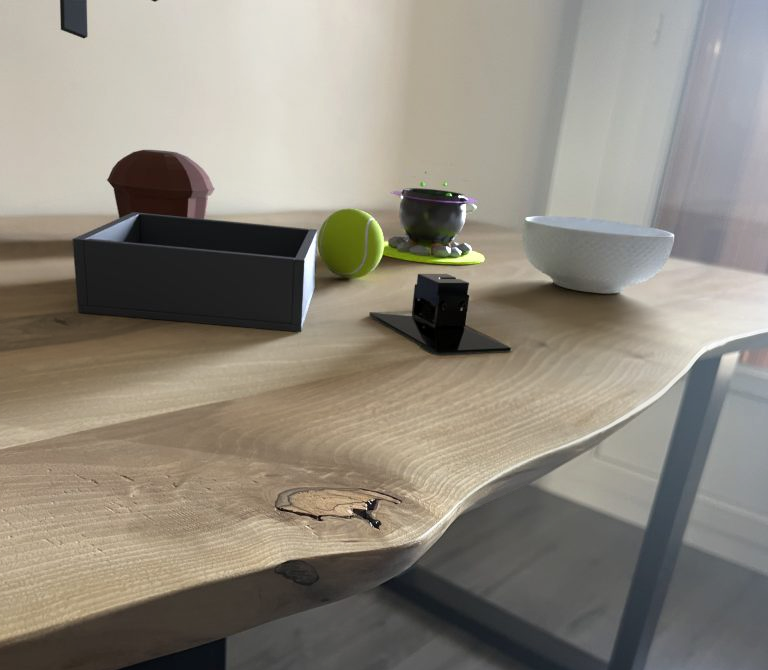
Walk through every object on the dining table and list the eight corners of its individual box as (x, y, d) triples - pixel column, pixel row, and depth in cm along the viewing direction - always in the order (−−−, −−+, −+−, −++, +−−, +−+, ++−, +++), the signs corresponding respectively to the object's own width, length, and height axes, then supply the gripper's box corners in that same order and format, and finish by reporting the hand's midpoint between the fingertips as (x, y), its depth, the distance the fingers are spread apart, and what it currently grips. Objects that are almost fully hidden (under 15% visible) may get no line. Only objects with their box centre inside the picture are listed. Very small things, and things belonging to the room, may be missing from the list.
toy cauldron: (499, 256, 111) (512, 169, 107) (460, 269, 99) (473, 171, 94) (399, 239, 117) (407, 156, 112) (351, 250, 104) (358, 157, 99)
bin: (77, 312, 64) (72, 238, 62) (135, 272, 80) (132, 211, 78) (301, 332, 65) (304, 260, 63) (314, 288, 81) (317, 229, 78)
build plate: (511, 353, 66) (521, 295, 64) (433, 357, 63) (441, 296, 61) (436, 314, 76) (442, 262, 74) (365, 315, 72) (369, 262, 70)
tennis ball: (306, 278, 85) (309, 207, 82) (329, 268, 91) (333, 202, 88) (369, 287, 84) (375, 216, 81) (388, 277, 90) (394, 210, 87)
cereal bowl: (647, 282, 103) (660, 224, 100) (672, 310, 88) (689, 242, 85) (513, 267, 104) (522, 208, 101) (516, 291, 89) (527, 223, 86)
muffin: (215, 240, 101) (216, 153, 97) (213, 256, 92) (213, 159, 87) (116, 233, 99) (111, 143, 95) (102, 248, 89) (97, 149, 85)
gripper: (211, -252, 76) (212, -8, 79) (74, -142, 92) (79, 58, 95) (140, -305, 71) (144, -40, 73) (8, -179, 87) (15, 35, 90)
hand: (107, 15), depth 84 cm, fingers open, 13 cm apart
